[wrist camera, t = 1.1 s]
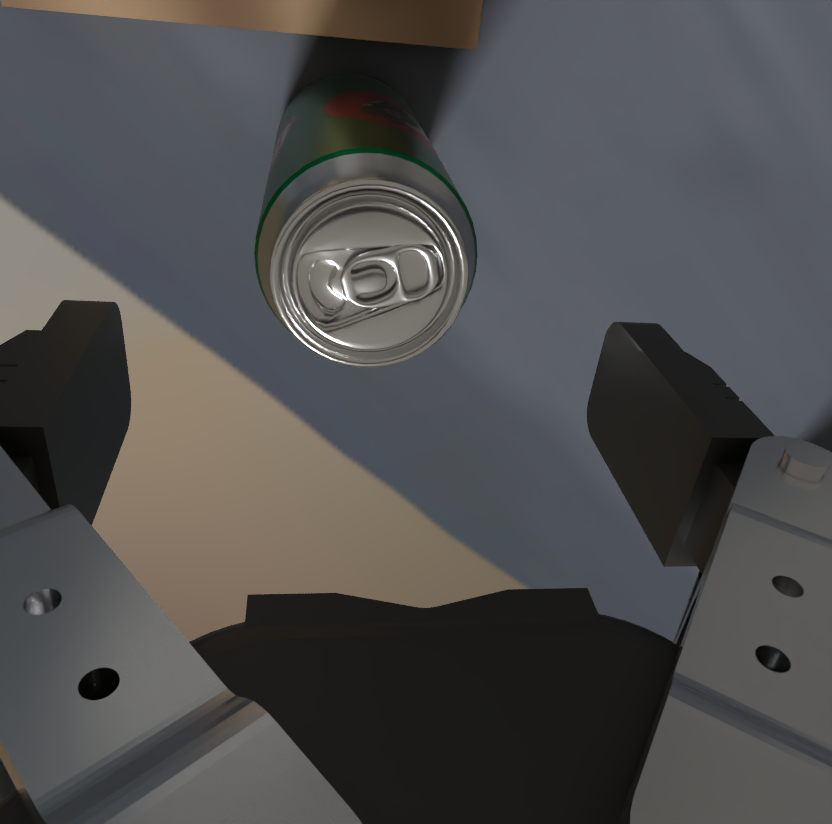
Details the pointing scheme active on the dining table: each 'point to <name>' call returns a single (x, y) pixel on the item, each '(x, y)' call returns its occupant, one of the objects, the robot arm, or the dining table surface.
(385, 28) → the display stand
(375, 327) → the soda can
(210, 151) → the dining table surface
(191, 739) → the robot arm
